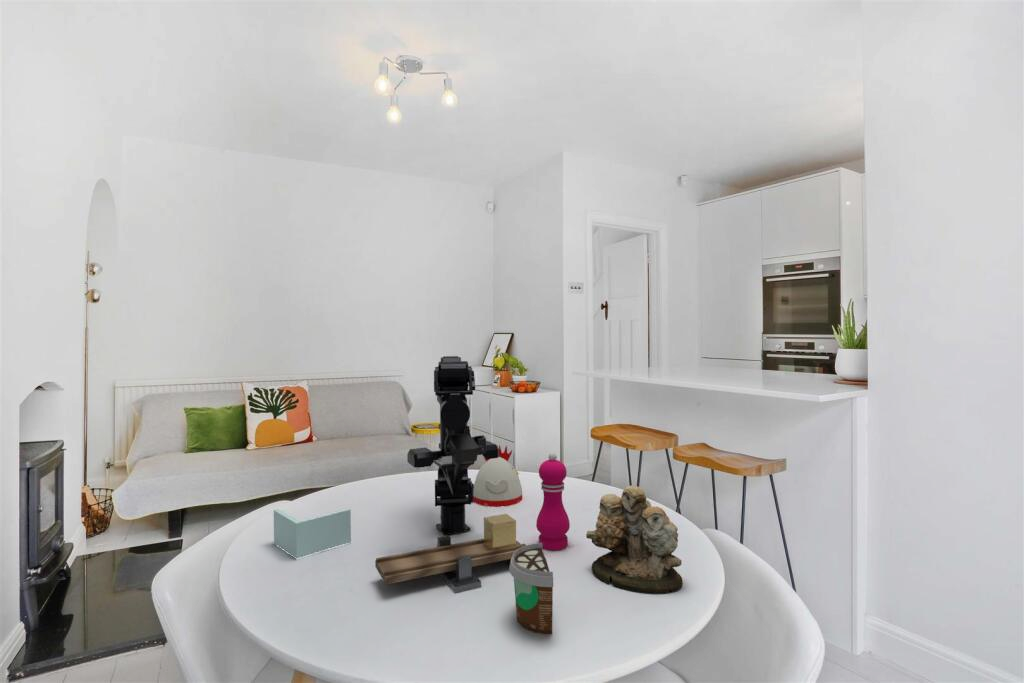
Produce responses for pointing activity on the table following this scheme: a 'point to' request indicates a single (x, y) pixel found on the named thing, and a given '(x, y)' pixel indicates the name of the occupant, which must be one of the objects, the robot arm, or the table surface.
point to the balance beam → (438, 560)
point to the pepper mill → (553, 506)
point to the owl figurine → (636, 544)
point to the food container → (532, 588)
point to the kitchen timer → (497, 482)
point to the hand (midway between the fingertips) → (454, 494)
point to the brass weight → (499, 531)
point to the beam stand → (460, 571)
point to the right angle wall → (311, 532)
